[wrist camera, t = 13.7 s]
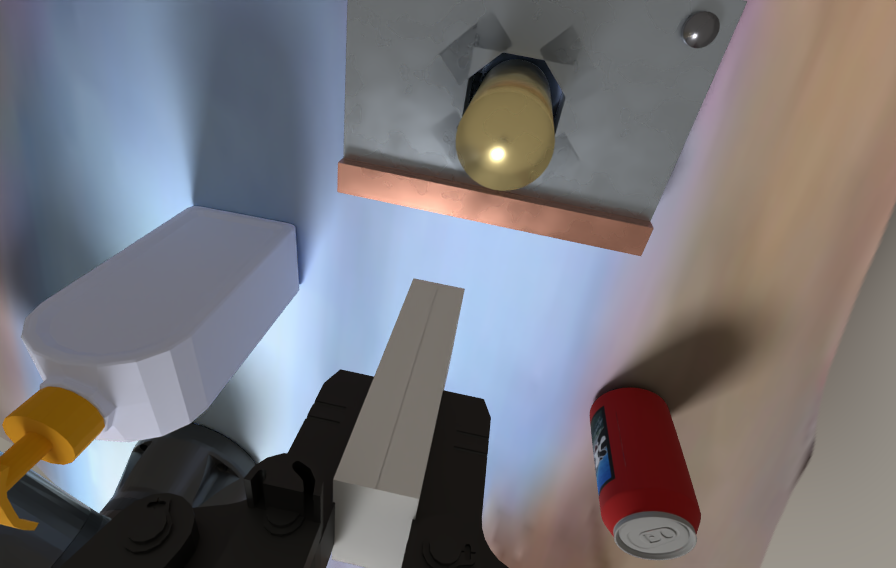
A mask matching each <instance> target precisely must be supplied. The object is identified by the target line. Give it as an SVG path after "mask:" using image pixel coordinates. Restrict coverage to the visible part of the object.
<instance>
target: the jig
mask: <svg viewBox="0 0 896 568" xmlns="http://www.w3.org/2000/svg"><path fill="white" fill-rule="evenodd" d="M746 3H747V1H743V0H348V5H347V43H346V81H345V119H344V157H343V159H341V160H340V161H339V162H338V189H337V192H340V193H345V194H350V195H354V196H359V197H364V198H369V199H373V200H378V201H383V202H387V203H392V204H397V205H402V206H406V207H411V208H416V209H421V210H425V211H430V212H435V213H439V214H444V215H449V216H454V217H458V218H463V219H468V220H473V221H477V222H482V223H487V224H491V225H496V226H501V227H506V228H510V229H515V230H520V231H525V232H529V233H534V234H539V235H543V236H548V237H553V238H558V239H562V240H567V241H572V242H577V243H581V244H586V245H591V246H595V247H600V248H605V249H610V250H614V251H619V252H624V253H629V254H633V255H638V256H641V255H642V253H643V251H644V248H645V246H646V244H647V242H648V240H649V237H650V235H651V233H652V231H653V226H652V224H651V222H650V221H651V219H652V216H653V214H654V212H655V210H656V207H657V205H658V203H659V200H660V198H661V196H662V194H663V191H664V189H665V187H666V185H667V182H668V180H669V178H670V176H671V173H672V171H673V169H674V166H675V164H676V162H677V160H678V157H679V155H680V153H681V151H682V148H683V146H684V144H685V142H686V139H687V137H688V135H689V132H690V130H691V128H692V126H693V123H694V121H695V119H696V117H697V114H698V112H699V110H700V108H701V105H702V103H703V101H704V98H705V96H706V94H707V92H708V89H709V87H710V85H711V83H712V80H713V78H714V76H715V73H716V71H717V69H718V67H719V64H720V62H721V60H722V58H723V55H724V53H725V51H726V49H727V46H728V44H729V42H730V39H731V37H732V35H733V33H734V30H735V28H736V26H737V24H738V21H739V19H740V17H741V15H742V12H743V10H744V8H745V5H746ZM503 52H504V53H509V54H515V55H520V56H525V57H530V58H535V59H541V60H545V62H546V63H547V65H548V67H549V69H550V70H551V72H552V74H553V76H554V78H555V79H556V81H557V83H558V85H559V86H560V88H561V90H562V94H561V98H560V101H559V105H558V108H557V112H556V116H555V119H554V133H555V146H554V152H553V155H552V158H551V161H550V163H549V165H548V166H547V168H546V169H545V171H544V172H543V173H542V174H541V175H540V176H539V177H538V178H537V179H536V180H535V181H533V182H532V183H530V184H528V185H526V186H525V187H522V188H519V189H515V190H508V191H500V190H493V189H490V188H487V187H484V186H482V185H480V184H479V183H477V182H476V181H474V180H473V179H472V178H471V177H470V176H469V175H468V174H467V173H466V172H465V170H464V169H463V167H462V165H461V163H460V161H459V159H458V155H457V151H456V133H457V128H458V125H459V123H460V120H461V119H462V117H463V115H464V113H465V111H466V110H467V108H468V104H469V98H470V93H471V87H472V81H473V75H474V74H475V73H476V72H477V71H479V70H480V69H481V68H483V67H484V66H485V65H487V64H488V63H489V62H491V61H492V60H493V59H495V58H496V57H497V56H499V55H500V54H501V53H503Z"/></svg>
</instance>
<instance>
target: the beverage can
mask: <svg viewBox="0 0 896 568" xmlns="http://www.w3.org/2000/svg"><path fill="white" fill-rule="evenodd" d="M590 424H591V434H592V443H593V452H594V461H595V469H596V478H597V486H598V494H599V501H600V509H601V516H602V520H603V522H604V524H605V525H606V527H607V528H608V530H609V531H610V532H611V534H612V535H613V537H614V540H615V542H616V544H617V545H618V547H619V548H620V549H621V550H623V551H624V552H626V553H628V554H630V555H632V556H635V557H638V558H642V559H648V560H668V559H673V558H677V557H680V556H683V555H685V554H687V553H688V552H690V551H691V550H692V549H693V548H694V547H695V545H696V542H697V537H696V534H697V531H698V527H699V524H700V520H701V513H700V509H699V506H698V502H697V499H696V495H695V492H694V489H693V485H692V482H691V478H690V475H689V472H688V469H687V465H686V462H685V459H684V456H683V452H682V449H681V446H680V443H679V439H678V436H677V433H676V430H675V427H674V424H673V421H672V418H671V415H670V411H669V408H668V406H667V404H666V403H665V401H664V400H663V399H662V398H661V397H660V396H658V395H657V394H655V393H653V392H651V391H648V390H645V389H641V388H619V389H615V390H612V391H609V392H607V393H605V394H603V395H602V396H600V397H599V398H598V399H597V400H596V401H595V402H594V403H593V405H592V407H591V409H590Z"/></svg>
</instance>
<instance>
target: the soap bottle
mask: <svg viewBox="0 0 896 568" xmlns="http://www.w3.org/2000/svg"><path fill="white" fill-rule="evenodd" d="M298 291H299V276H298V261H297V246H296V231H295V226H294V225H292V224H290V223H285V222H280V221H275V220H269V219H264V218H259V217H254V216H248V215H243V214H238V213H233V212H227V211H222V210H217V209H212V208H206V207H201V206H192V207H189V208H187V209H185V210H184V211H182V212H180V213H179V214H177V215H176V216H174V217H173V218H171V219H170V220H168V221H167V222H165V223H164V224H162V225H160V226H159V227H157V228H156V229H154V230H153V231H151V232H150V233H148V234H147V235H145V236H144V237H142V238H140V239H139V240H137V241H136V242H134V243H133V244H131V245H130V246H128V247H127V248H125V249H124V250H122V251H120V252H119V253H117V254H116V255H114V256H113V257H111V258H110V259H108V260H107V261H105V262H103V263H102V264H100V265H99V266H97V267H96V268H94V269H93V270H91V271H90V272H88V273H87V274H85V275H83V276H82V277H80V278H79V279H77V280H76V281H74V282H73V283H71V284H70V285H68V286H67V287H65V288H63V289H62V290H60V291H59V292H57V293H56V294H54V295H53V296H51V297H50V298H48V299H46V300H45V301H43V302H42V303H41V304H40V305H39V306H38V307H36V308H35V309H34V310H33V311H32V312H31V313H30V314H29V315H28V316H27V317H26V319H25V322H24V327H23V331H22V336H21V338H22V340H23V342H24V344H25V346H26V348H27V350H28V352H29V354H30V356H31V358H32V360H33V362H34V363H35V365H36V367H37V369H38V371H39V373H40V375H41V377H42V379H43V381H44V382H43V383H41V384H40V390H39V391H38V392H37V393H35V394H34V395H33V396H32V397H30V398H29V399H28V400H27V401H26V402H24V403H23V404H22V405H21V406H19V407H18V408H17V409H16V410H15V411H13V412H12V413H11V414H10V415H9V416H7V417H6V418H5V419H4V422H3V424H2V425H3V428H4V431H5V433H6V434H7V436H8V437H9V438H10V439H11V440H12V441H13V443H15V444H14V445H13V446H12V447H11V448H9V449H8V450H7V451H6V452H5V453H4V454H3V455H1V456H0V524H2V525H5V526H9V527H13V528H17V529H21V530H35V529H36V527H37V525H38V523H37V522H33V521H29V520H25V519H19V517H18V515H17V514H16V512H15V511H14V509H13V507H12V505H11V504H10V502H9V500H8V498H7V491H8V490H9V489H10V488H12V487H13V486H14V485H15V484H16V483H17V482H18V481H19V480H20V479H21V478H22V477H23V476H24V475H25V474H26V473H27V472H28V471H29V470H30V469H31V468H32V467H33V466H34V465H35V464H36V463H37V462H39V461H40V460H44V461H47V462H49V463H53V464H62V465H64V464H68V463H72V462H73V461H74V460H75V459H76V458H77V457H78V456H79V455H80V454H81V453H82V451H83V450H84V449H85V448H86V447H87V446H88V445H89V444H90V443H91V442H92V441H93V440H94V439H95V440H104V441H118V442H133V441H139V440H144V439H150V438H155V437H161V436H164V435H166V434H168V433H170V432H172V431H175V430H177V429H179V428H181V427H184V426H186V425H188V424H190V423H191V422H192V421H194V420H195V419H196V418H197V417H198V416H200V415H201V414H202V413H203V412H204V411H205V410H207V409H208V408H209V406H210V405H211V404H212V402H213V401H214V400H215V399H216V397H217V396H218V395H219V393H220V392H221V391H222V389H223V388H224V387H225V386H226V384H227V383H228V382H229V380H230V379H231V378H232V377H233V375H234V374H235V373H236V371H237V370H238V369H239V367H240V366H241V365H242V364H243V362H244V361H245V360H246V358H247V357H248V356H249V354H250V353H251V352H252V351H253V349H254V348H255V347H256V345H257V344H258V343H259V341H260V340H261V339H262V338H263V336H264V335H265V334H266V332H267V331H268V330H269V329H270V327H271V326H272V325H273V323H274V322H275V321H276V319H277V318H278V317H279V316H280V314H281V313H282V312H283V310H284V309H285V308H286V306H287V305H288V304H289V303H290V301H291V300H292V299H293V297H294V296H295V295H296V294H297V292H298Z"/></svg>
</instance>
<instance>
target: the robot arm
mask: <svg viewBox="0 0 896 568" xmlns="http://www.w3.org/2000/svg"><path fill="white" fill-rule="evenodd" d="M463 294H464V289H463V288H458V287H453V286H448V285H443V284H438V283H434V282H429V281H424V280H419V279H413V281H412V284H411V286H410V289H409V291H408V294H407V296H406V299H405V301H404V304H403V306H402V309H401V311H400V314H399V316H398V319H397V321H396V324H395V326H394V329H393V331H392V334H391V336H390V339H389V341H388V344H387V346H386V349H385V351H384V354H383V356H382V359H381V361H380V364H379V366H378V369H377V371H376V374H375V376H374V377H373V376H368V375H364V374H359V373H354V372H350V371H345V370H341V369H340V370H339V371H338V372H337V373H336V374H334V375H333V376H332V377H331V378H329V379H328V380H327V381H326V382H325V383H324V384H323V386H322V388H321V390H320V392H319V394H318V396H317V398H316V400H315V403H314V404H313V405H312V407H311V409H310V411H309V413H308V416H307V419H305V421H304V423H303V425H302V427H301V428H300V430H299V432H298V434H297V436H296V438H295V440H294V442H293V444H292V446H291V448H290V450H289V452H288V453H283V454H279V455H275V456H272V457H268V458H266V459H265V460H263V461H261V462H260V463H258V464H257V465H256V464H255V463H254V461H253V460H252V459H251V457H250V456H249V455H248V454H247V453H246V452H245V451H244V450H243V449H242V448H240V447H239V446H238V445H237V444H235V443H234V442H233V441H231V440H230V439H228V438H226V437H225V436H223V435H221V434H219V433H217V432H215V431H213V430H210V429H208V428H205V427H202V426H199V425H195V424H191V423H190V424H188V425H186V426H184V427H181V428H179V429H177V430H175V431H172V432H170V433H168V434H166V435H164V436H161V437H155V438H150V439H144V440H139V441H138V442H137V444H136V445H135V447H134V449H133V451H132V453H131V456H130V458H129V460H128V463H127V465H126V467H125V470H124V472H123V474H122V477H121V479H120V481H119V484H118V486H117V488H116V491H115V493H114V495H113V497H112V498H111V500H110V501H109V502H108V503H107V505H106V506H105V507H104V508H103V509H102V511H101V512H100V513H98V512H96V511H94V510H93V509H91V508H90V507H88V506H86V505H85V504H83V503H82V502H80V501H79V500H77V499H76V498H74V497H73V496H71V495H70V494H68V493H67V492H65V491H64V490H62V489H61V488H59V487H58V486H56V485H54V484H53V483H51V482H50V481H48V480H47V479H45V478H44V477H42V476H41V475H39V474H38V473H36V472H35V471H33V470H32V469H30V470H29V471H28V472H27V473H26V474H25V475H24V476H23V477H22V478H21V479H20V480H19V481H18V482H17V483H16V484H15V485H14V486H13V487H12V488H10V489H9V490H8V491H7V498H8V500H9V502H10V504H11V505H12V507H13V509H14V511H15V512H16V514H17V515H18V517H19V519H25V520H29V521H33V522H37V523H38V525H37V527H36V529H35V530H21V529H17V528H13V527H9V526H5V525H2V524H0V568H326V566H327V563H328V560H329V558H330V555H331V552H332V560H336V561H341V562H345V563H349V564H353V565H358V566H362V567H366V568H508V567H507V566H506V565H504V564H503V563H502V562H501V561H499V560H498V558H497V557H496V556H495V555H494V554H493V552H492V551H491V550H490V548H489V546H488V544H487V542H486V540H485V537H484V534H483V530H482V509H483V498H484V487H485V476H486V465H487V454H488V443H489V441H488V440H489V432H490V421H491V417H490V414H489V412H488V409H487V406H486V404H485V401H484V399H481V398H476V397H472V396H467V395H462V394H458V393H453V392H448V391H444V387H445V383H446V378H447V373H448V369H449V364H450V359H451V354H452V349H453V344H454V339H455V334H456V329H457V324H458V319H459V314H460V309H461V304H462V299H463ZM3 454H4V453H3V452H1V451H0V456H1V455H3Z"/></svg>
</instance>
